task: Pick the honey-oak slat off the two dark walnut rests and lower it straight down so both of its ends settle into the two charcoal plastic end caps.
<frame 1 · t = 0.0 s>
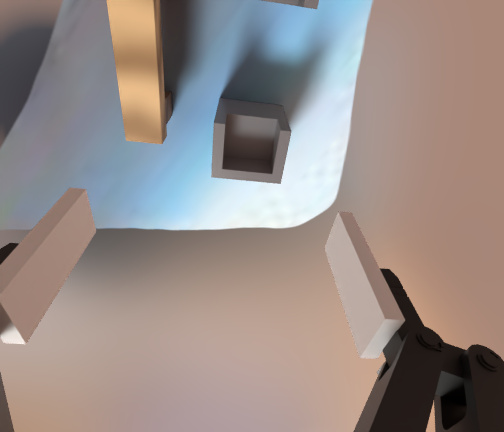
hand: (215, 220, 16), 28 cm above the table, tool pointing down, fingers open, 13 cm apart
slat: (142, 49, 30), point 6 cm above the table, touching rests
end caps: (256, 55, 36), on the table
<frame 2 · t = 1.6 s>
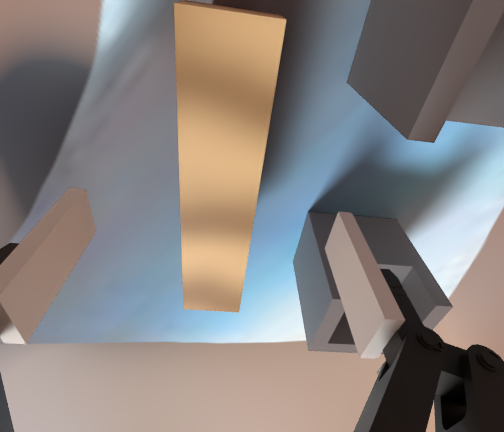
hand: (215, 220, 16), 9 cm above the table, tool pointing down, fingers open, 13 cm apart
slat: (220, 187, 18), point 6 cm above the table, touching rests
end caps: (375, 161, 24), on the table
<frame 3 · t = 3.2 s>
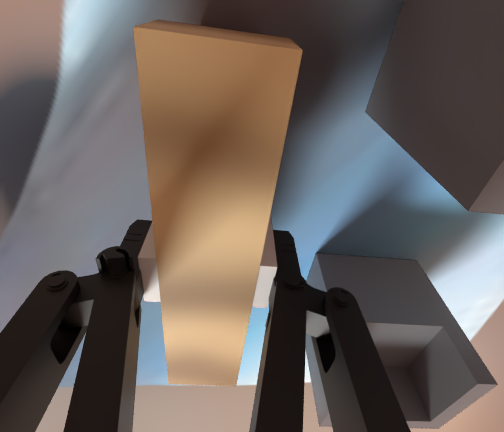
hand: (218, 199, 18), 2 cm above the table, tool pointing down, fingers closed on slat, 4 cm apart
slat: (212, 246, 14), point 6 cm above the table, touching gripper, rests
end caps: (395, 199, 20), on the table
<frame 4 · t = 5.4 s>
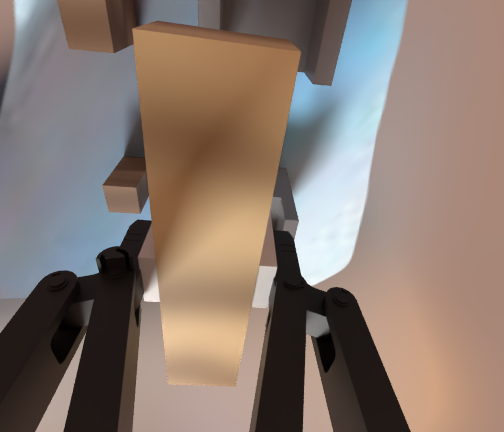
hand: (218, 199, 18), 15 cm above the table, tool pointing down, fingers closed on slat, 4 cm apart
slat: (211, 246, 14), point 19 cm above the table, touching gripper
end caps: (253, 116, 29), on the table
rests: (130, 105, 29), on the table
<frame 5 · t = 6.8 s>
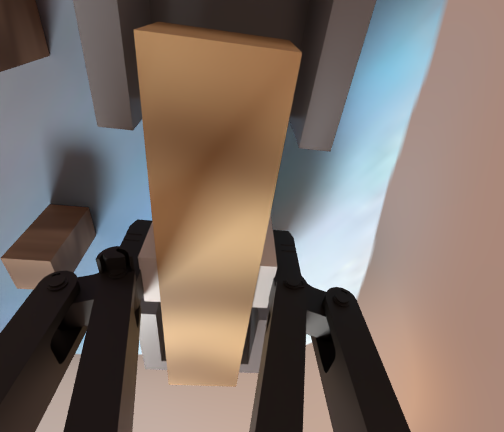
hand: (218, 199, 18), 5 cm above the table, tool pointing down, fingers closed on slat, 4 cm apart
slat: (212, 247, 14), point 9 cm above the table, touching gripper
end caps: (223, 158, 22), on the table
rests: (49, 141, 20), on the table
when the fingers open (3 cm above the table, at t = 7.7 s): slat drops 1 cm, resting on end caps.
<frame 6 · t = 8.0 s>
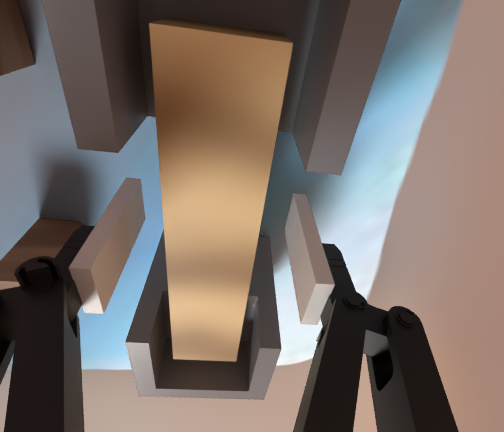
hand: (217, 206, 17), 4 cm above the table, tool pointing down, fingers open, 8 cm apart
slat: (214, 227, 16), point 6 cm above the table, touching end caps
end caps: (221, 171, 20), on the table
rests: (37, 153, 19), on the table
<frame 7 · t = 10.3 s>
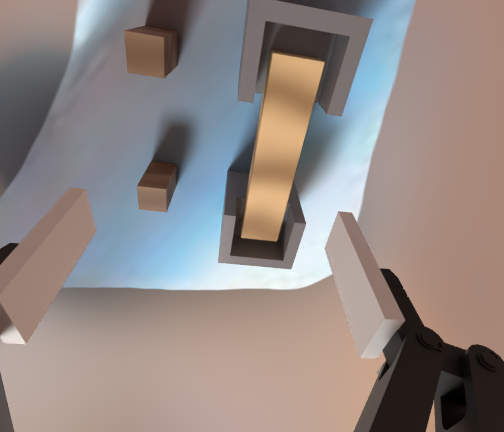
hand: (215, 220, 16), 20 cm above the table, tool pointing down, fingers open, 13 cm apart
slat: (273, 154, 29), point 6 cm above the table, touching end caps
end caps: (268, 132, 34), on the table
rests: (163, 117, 33), on the table
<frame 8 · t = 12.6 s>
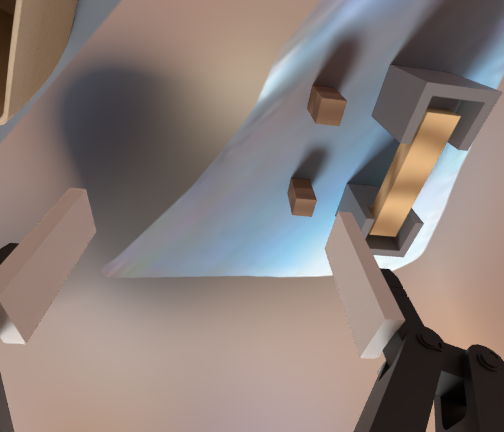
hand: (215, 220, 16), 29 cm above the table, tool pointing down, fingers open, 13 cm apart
slat: (401, 174, 40), point 6 cm above the table, touching end caps
end caps: (384, 154, 45), on the table
rests: (308, 146, 44), on the table
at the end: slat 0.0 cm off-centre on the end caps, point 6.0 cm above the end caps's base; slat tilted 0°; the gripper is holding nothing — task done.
